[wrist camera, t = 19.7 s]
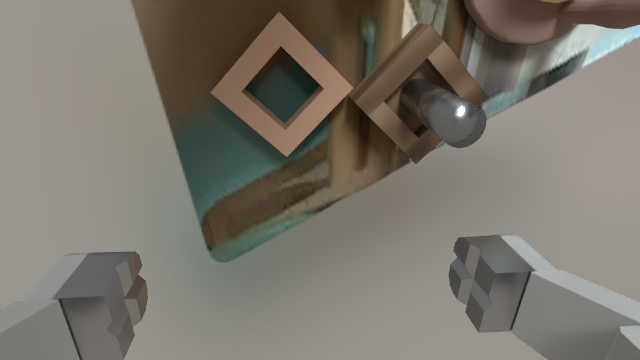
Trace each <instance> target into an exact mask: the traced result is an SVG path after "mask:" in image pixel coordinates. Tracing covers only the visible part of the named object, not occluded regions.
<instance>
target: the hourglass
mask: <svg viewBox="0 0 640 360" xmlns="http://www.w3.org/2000/svg"><path fill="white" fill-rule="evenodd" d="M464 4H465V8H466V10H467V11H468V13H469V14H470V16H471V17H472V19H473V20H474V22H475V23H476V24H477V26H478V27H479V29H480V30H482V31H484V32H485V33H487V34H488V35H490V36H492V37H493V38H495V39H497V40H498V41H500V42H507V43H516V44H525V45H534V44H538V43H541V42H545V41H548V40H552V39H556V38H559V37H560V36H562V35H563V34H565V33H566V32H568V31H569V30H571V29H572V28H574V27H575V26H577V25H578V24H594V25H597V26H602V27H606V28H613V29H624V28H628V27H632V26H636V25H640V0H464Z"/></svg>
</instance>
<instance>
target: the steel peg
mask: <svg viewBox="0 0 640 360" xmlns="http://www.w3.org/2000/svg"><path fill="white" fill-rule="evenodd" d="M400 103H401V105H402V107H403V108H404V109H405V110H406V111H407V112H409V113H410V114H411V115H412V116H414V117H415V118H416V119H417V120H419V121H420V122H421V123H422V124H424V125H425V126H426V127H427V128H429V129H430V130H431V131H432V132H434V133H435V134H436V135H437V136H438V137H440V138H441V139H442V140H443V141H445V142H446V143H447V144H448V145H450V146H452V147H456V148H463V147H467V146H469V145H471V144H473V143H474V142H476V141H477V140H478V139H479V138H480V137H481V135H482V134H483V132H484V130H485V127H486V116H485V113H484V111H483V110H482V109H481V108H480V107H479V106H477V105H475V104H473V103H471V102H469V101H467V100H465V99H463V98H461V97H459V96H457V95H455V94H453V93H451V92H449V91H447V90H445V89H443V88H441V87H439V86H437V85H435V84H433V83H431V82H429V81H427V80H425V79H421V78H416V79H412V80H410V81H409V82H407V83H406V84H405V85H404V86H403V88H402V90H401V92H400Z"/></svg>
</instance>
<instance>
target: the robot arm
mask: <svg viewBox="0 0 640 360" xmlns="http://www.w3.org/2000/svg"><path fill="white" fill-rule="evenodd" d="M454 252H455V254H456V256H457V258H456V259H455V260H454V261H453V262H452V263H451V265H450V271H449V281H450V286H451V289H452V292H453V294H454V295H455V297H456V298H457V300H459V301H460V302H462V303H464V304H465V305H467V307H466V314H467V315H468V317H469V319H470V320H471V322H472V323H473V324H474V326H475V328H476V329H477V331H478V332H501V331H512V332H511V333H513V334H514V335H515V336H516V337H518V338H519V339H521V340H522V341H523V342H525V343H526V344H527V345H529V346H530V347H531V348H533V349H534V350H536V351H537V352H538V353H540V354H541V355H542V356H544V357H545V358H547V359H548V360H640V303H639V302H637V301H635V300H632V299H630V298H628V297H625V296H623V295H620V294H618V293H616V292H613V291H611V290H609V289H606V288H604V287H601V286H599V285H597V284H594V283H592V282H590V281H587V280H585V279H582V278H580V277H578V276H575V275H573V274H571V273H568V272H566V271H563V270H556V269H555V268H554V267H553V266H551V265H550V264H549V263H548V262H547V261H546V260H545V259H544V258H542V257H541V256H540V255H539V254H538V253H537V252H535V250H533V249H532V248H531V247H530V246H529V245H528V244H527V243H526V242H524V241H523V240H522V239H521V238H520V237H519V236H517V235H515V234H502V235H494V236H478V237H461V238H458V240H457V241H456V243H455V246H454ZM141 267H142V264H141V260H140V256H139V254H137V253H136V252H104V253H76V254H68V255H65V256H64V257H63V258H62V259H61V260H60V261H59V262H58V263H57V264H56V265H55V267H54V268H53V269H52V270H51V271H50V272H49V273H48V274H47V275H46V277H45V278H44V279H43V280H42V281H41V282H40V283H39V284H38V285H37V286H36V288H35V289H34V290H33V291H32V292H31V293H30V294H29V295H28V297H27V298H26V299H25V300H24V301H22V302H14V303H12V304H10V305H8V306H6V307H4V308H3V309H1V310H0V360H124V358H125V356H126V353H127V351H128V349H129V347H130V344H131V342H132V340H133V338H134V331H133V326H135V325H136V324H137V323H138V322H140V321H141V320H142V318H143V315H144V312H145V310H146V304H147V299H148V297H147V286H146V281H145V280H144V279H143V278H142V277H140V276H139V275H138V273H139V271H140V269H141Z"/></svg>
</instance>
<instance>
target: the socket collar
mask: <svg viewBox="0 0 640 360" xmlns="http://www.w3.org/2000/svg"><path fill="white" fill-rule="evenodd" d="M280 46H281V47H282V48H283V49H284V50H285V51H286V52H287V53H288V54H289V55H290V56H291V57H292V58H293V59H294V60H295V61H296V62H297V63H299V64H300V65H301V66H302V67H303V68H304V69H305V70H306V71H307V72H308V73H309V74H310V75H311V76H312V77H313V78H314V79H315V80H316V81H317V82H318V83H319V84H320V86H319V87H318V88H317V89H316V90H315V91H314V92H313V94H312V95H311V96H310V97H309V98H308V99H307V100H306V101H305V102H304V103H303V104H302V105H301V106H300V108H299V109H298V110H297V111H296V112H295V113H294V114H293V115H292V116H291V117H290V118H289V119H288V120H287V121H286V123H284V122H283V121H282V120H280V119H279V118H278V117H277V116H276V115H275V114H274V113H272V112H271V111H270V110H269V109H268V108H267V107H266V106H265V105H263V104H262V103H261V102H260V101H259V100H258V99H257V98H255V97H254V96H253V95H252V94H251V93H250V92H249V91H248V90H246V89H245V87H246V85H247V84H248V83H249V82H250V81H251V80H252V79H253V77H254V76H255V75H256V74H257V73H258V72H259V71H260V69H261V68H262V67H263V66H264V65H265V64H266V62H267V61H268V60H269V59H270V58H271V57H272V56H273V54H274V53H275V52H276V51H277V50H278V49H279V47H280ZM352 89H353V87H352V86H351V85H350V84H349V83H348V82H347V81H346V80H345V79H344V78H343V77H342V76H341V75H340V74H339V73H338V72H337V71H336V70H335V69H334V67H333V66H332V65H331V64H330V63H329V62H328V61H327V60H326V59H325V58H324V57H323V56H322V55H321V54H320V53H319V52H318V51H317V50H316V49H315V48H314V47H313V46H312V45H311V44H310V43H309V42H308V41H307V40H306V39H305V38H304V37H303V36H302V35H301V34H300V33H299V32H298V31H297V30H296V29H295V27H294V26H293V25H292V24H291V23H290V22H289V21H288V20H287V19H286V18H285V17H284V16H283V15H282V14H281V13H280V12H278V13H277V14H276V15H275V17H274V18H273V19H272V20H271V21H270V22H269V24H268V25H267V26H266V27H265V28H264V30H263V31H262V32H261V33H260V34H259V35H258V37H257V38H256V39H255V40H254V41H253V43H252V44H251V45H250V46H249V47H248V49H247V50H246V51H245V52H244V53H243V54H242V56H241V57H240V58H239V59H238V60H237V62H236V63H235V64H234V65H233V66H232V68H231V69H230V70H229V71H228V72H227V73H226V75H225V76H224V77H223V78H222V79H221V81H220V82H219V83H218V84H217V85H216V86H215V88H214V89H213V90H212V91H211V92H210V93H211V94H212V95H213V96H215V97H216V98H217V99H218V100H219V101H221V102H222V103H223V104H224V105H225V106H227V107H228V108H229V109H230V110H231V111H233V112H234V113H235V114H236V115H237V116H239V117H240V118H241V119H242V120H243V121H245V122H246V123H247V124H248V125H249V126H250V127H252V128H253V129H254V130H255V131H256V132H258V133H259V134H260V135H261V136H262V137H264V138H265V139H266V140H267V141H268V142H270V143H271V144H272V145H273V146H274V147H276V148H277V149H278V150H279V151H280V152H282V153H283V154H284V155H285V156H286V157H287V156H288V155H289V154H290V153H291V152H292V151H293V150H294V149H295V148H296V147H297V146H298V145H299V144H300V143H301V142H302V141H303V140H304V139H305V138H306V137H307V136H308V135H309V133H310V132H311V131H312V130H313V129H314V128H315V127H316V126H317V125H318V124H319V123H320V122H321V121H322V120H323V119H324V118H325V117H326V116H327V115H328V114H329V113H330V112H331V111H332V110H333V109H334V107H335V106H336V105H337V104H338V103H339V102H340V101H341V100H342V99H343V98H344V97H345V96H346V95H347V94H348V93H349V92H350V91H351V90H352Z"/></svg>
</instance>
